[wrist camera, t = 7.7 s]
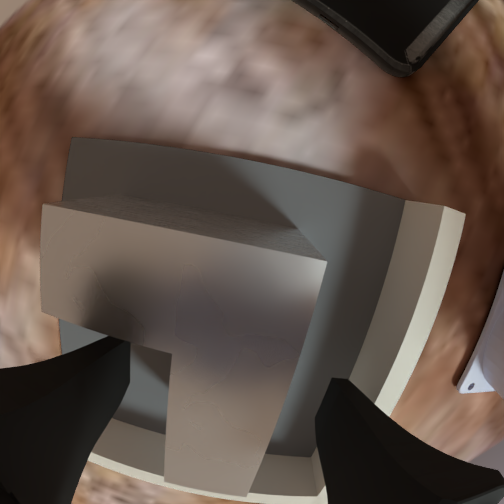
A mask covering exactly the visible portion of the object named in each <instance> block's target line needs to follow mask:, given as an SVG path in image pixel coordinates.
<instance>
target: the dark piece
mask: <svg viewBox="0 0 504 504" xmlns="http://www.w3.org/2000/svg"><path fill="white" fill-rule="evenodd" d="M292 1H293V2H295V3H296V4H298V5H300V6H301V7H303V8H304V9H306V10H307V11H309V12H310V13H312V14H313V15H315V16H316V17H317V18H319V19H320V20H322V21H323V22H324V23H326V24H327V25H329V26H330V27H331V28H333V29H334V30H335V31H337V32H338V33H339V34H341V35H342V36H343V37H344V38H346V39H347V40H348V41H350V42H351V43H352V44H353V45H354V46H356V47H357V48H358V49H359V50H361V51H362V52H363V53H364V54H365V55H366V56H368V57H369V58H370V59H371V60H372V61H373V62H374V63H376V64H377V65H378V66H379V67H380V68H381V69H383V70H384V71H385V72H387V73H388V74H391V75H393V76H396V77H406V76H409V75H411V74H412V73H414V72H415V71H417V70H418V69H419V68H421V67H422V65H423V64H424V63H425V62H426V61H427V60H428V59H429V57H430V56H431V55H432V54H433V53H434V52H435V50H436V49H437V48H438V47H439V46H440V45H441V44H442V42H443V41H444V40H445V39H446V38H447V37H448V35H449V34H450V33H451V32H452V31H453V30H454V29H455V27H456V26H457V25H458V24H459V23H460V22H461V20H462V19H463V18H464V17H465V16H466V15H467V13H468V12H469V11H470V10H471V9H472V8H473V6H474V5H475V4H476V3H477V2H478V1H479V0H292ZM321 14H322V15H323V16H324V17H326V18H327V19H329V20H330V21H331V22H333V23H334V24H336V25H337V26H338V27H339V28H337V27H336V26H335V25H333V24H332V23H331V22H329V21H328V20H327V19H325V18H324V17H322V16H321Z"/></svg>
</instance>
